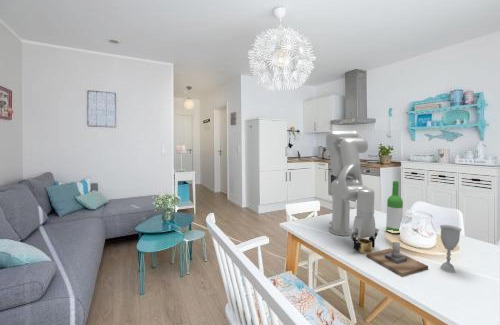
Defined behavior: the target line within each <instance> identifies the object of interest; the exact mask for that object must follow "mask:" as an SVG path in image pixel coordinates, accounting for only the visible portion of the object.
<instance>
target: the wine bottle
mask: <svg viewBox="0 0 500 325" xmlns="http://www.w3.org/2000/svg"><path fill="white" fill-rule="evenodd" d="M399 184H400V182H399V181H397V180H396V181H395V180H394V181H392V189H391V190H392V192H391V193H392V194H391V195H390V196H389V197H388V198H387V202H386V203H387V204H386V222H385V224H386V231H387V230H393V231H399V228H400V223H401V221H402V222H403V207H404V201H403V199H402V197H401V196H399V195H400V194H399V191H400V190H399V187H400V185H399Z"/></svg>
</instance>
